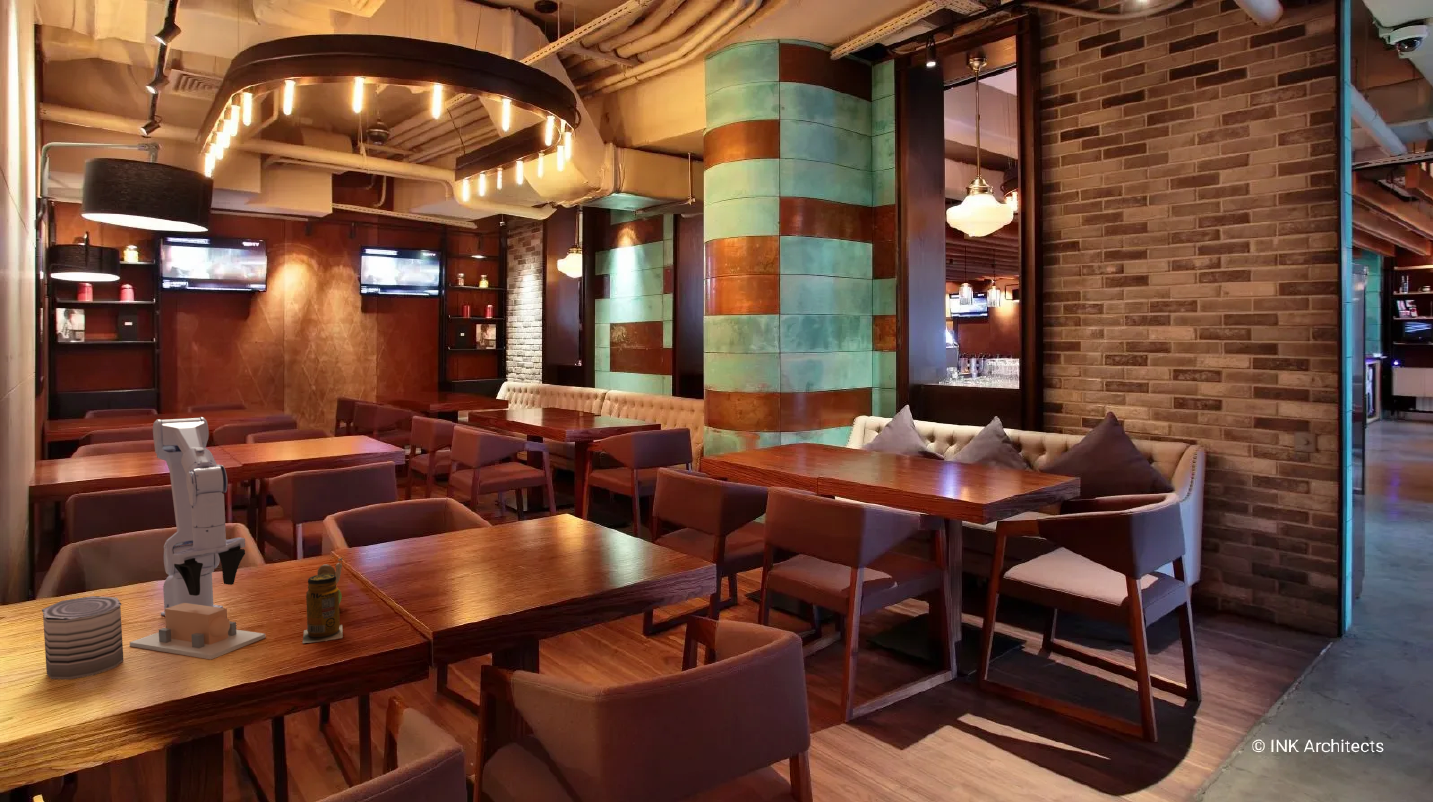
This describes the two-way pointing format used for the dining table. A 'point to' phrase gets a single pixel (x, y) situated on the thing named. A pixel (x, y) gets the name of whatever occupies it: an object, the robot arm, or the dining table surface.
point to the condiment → (322, 609)
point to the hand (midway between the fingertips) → (212, 589)
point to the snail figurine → (332, 572)
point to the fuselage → (197, 622)
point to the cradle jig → (198, 643)
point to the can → (82, 637)
